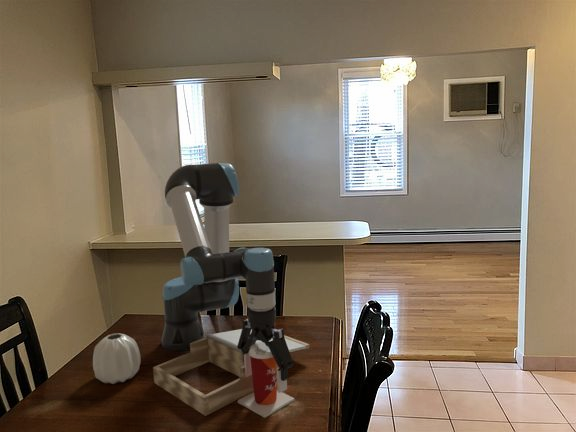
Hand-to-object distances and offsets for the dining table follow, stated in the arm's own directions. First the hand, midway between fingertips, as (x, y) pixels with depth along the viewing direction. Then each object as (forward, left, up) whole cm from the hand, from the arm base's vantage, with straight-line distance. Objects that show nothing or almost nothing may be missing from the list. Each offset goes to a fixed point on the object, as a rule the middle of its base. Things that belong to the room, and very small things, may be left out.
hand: (265, 382), depth 126 cm
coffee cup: (0, 0, -5) cm, 5 cm away
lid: (-20, +15, -1) cm, 25 cm away
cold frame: (-20, -5, -6) cm, 22 cm away
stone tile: (0, 0, -6) cm, 6 cm away
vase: (-45, -21, -6) cm, 50 cm away
